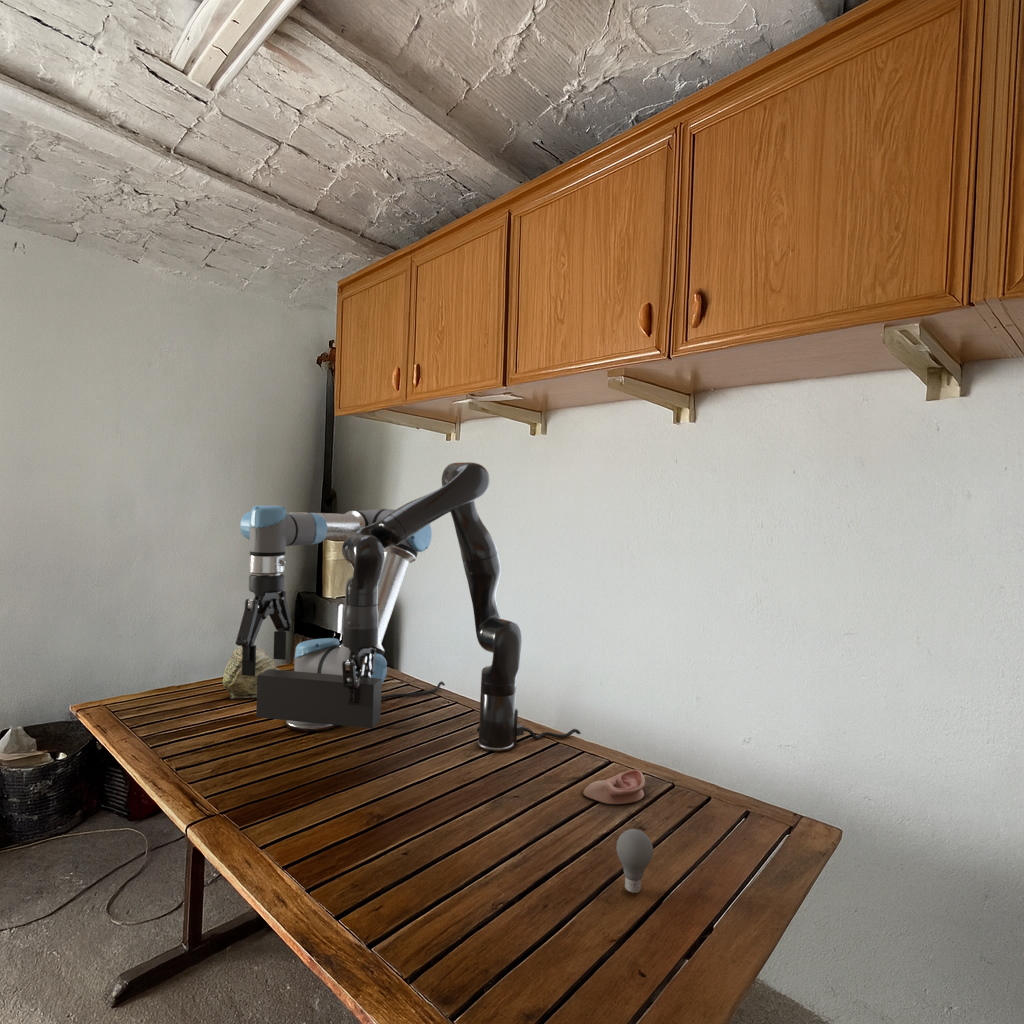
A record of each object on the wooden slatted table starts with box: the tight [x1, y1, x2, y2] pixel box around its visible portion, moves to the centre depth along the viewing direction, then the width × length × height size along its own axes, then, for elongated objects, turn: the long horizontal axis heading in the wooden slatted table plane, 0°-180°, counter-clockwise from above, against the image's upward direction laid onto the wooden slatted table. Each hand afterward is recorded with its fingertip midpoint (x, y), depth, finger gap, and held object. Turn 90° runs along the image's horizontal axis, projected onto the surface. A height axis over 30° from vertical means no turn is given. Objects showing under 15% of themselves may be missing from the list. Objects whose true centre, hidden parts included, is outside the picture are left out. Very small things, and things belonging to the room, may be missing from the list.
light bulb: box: [615, 828, 654, 894], centre depth 106 cm, size 6×6×10 cm
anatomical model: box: [582, 769, 646, 805], centre depth 141 cm, size 13×4×12 cm
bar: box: [255, 669, 383, 730], centre depth 141 cm, size 27×5×10 cm, turn 82°
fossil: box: [222, 646, 280, 699], centre depth 198 cm, size 9×18×15 cm, turn 132°
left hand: (264, 666), depth 144 cm, fingers open, 13 cm apart
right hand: (358, 700), depth 140 cm, fingers closed on bar, 5 cm apart
